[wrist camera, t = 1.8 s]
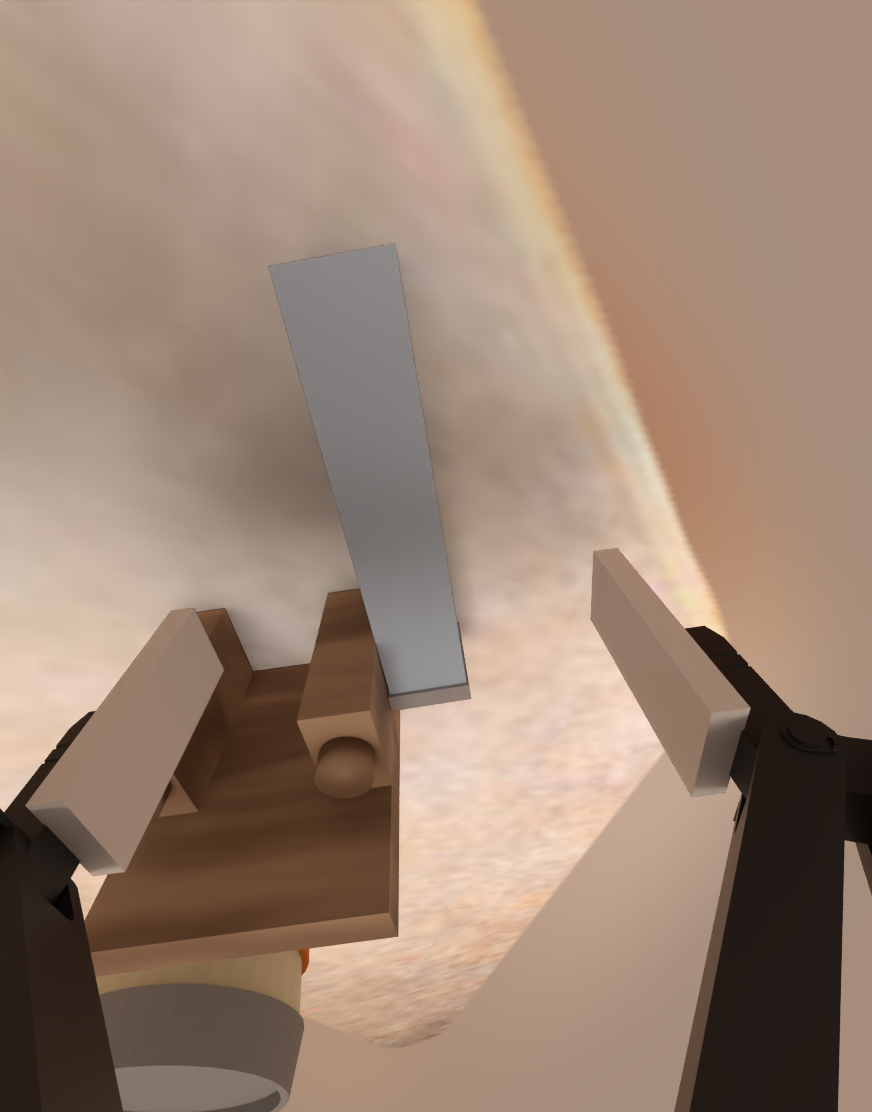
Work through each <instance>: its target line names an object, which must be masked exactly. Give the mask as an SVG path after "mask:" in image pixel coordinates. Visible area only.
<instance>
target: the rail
mask: <svg viewBox="0 0 872 1112" xmlns="http://www.w3.org/2000/svg"><path fill="white" fill-rule="evenodd" d="M268 268H269V272H270V275H271V279H272V282H273V286H274V289H275V293H276V296H277V300H278V303H279V307H280V310H281V314H282V317H283V321H284V324H285V328H286V331H287V335H288V338H289V342H290V345H291V349H292V352H293V356H294V359H295V363H296V366H297V370H298V373H299V377H300V380H301V384H302V387H303V391H304V394H305V398H306V401H307V405H308V408H309V412H310V415H311V419H312V422H313V426H314V429H315V433H316V436H317V440H318V443H319V447H320V450H321V454H322V457H323V461H324V464H325V468H326V471H327V475H328V478H329V482H330V485H331V489H332V492H333V496H334V499H335V503H336V506H337V510H338V513H339V517H340V520H341V524H342V527H343V531H344V534H345V538H346V541H347V545H348V548H349V552H350V555H351V559H352V562H353V566H354V569H355V573H356V576H357V580H358V583H359V587H360V590H361V594H362V597H363V601H364V604H365V608H366V611H367V615H368V618H369V622H370V625H371V629H372V632H373V636H374V639H375V643H376V646H377V650H378V653H379V657H380V660H381V664H382V667H383V671H384V674H385V678H386V682H387V685H388V699H389V702H390V706H391V709H392V711H395V710H402V709H408V708H415V707H421V706H428V705H434V704H441V703H447V702H454V701H460V700H467V699H471V695H470V688H469V682H468V676H467V670H466V664H465V658H464V652H463V646H462V640H461V634H460V628H459V622H457V619H456V613H455V607H454V601H453V595H452V589H451V583H450V577H449V570H448V564H447V558H446V552H445V546H444V540H443V534H442V527H441V521H440V515H439V509H438V503H437V497H436V491H435V484H434V478H433V472H432V466H431V460H430V454H429V448H428V442H427V435H426V429H425V423H424V417H423V411H422V405H421V399H420V392H419V386H418V380H417V374H416V368H415V362H414V356H413V349H412V343H411V337H410V331H409V325H408V319H407V313H406V307H405V300H404V294H403V288H402V282H401V276H400V270H399V264H398V257H397V252H396V246H395V244H389V245H383V246H378V247H372V248H366V249H361V250H355V251H350V252H344V253H338V254H333V255H327V256H322V257H316V258H310V259H305V260H299V261H294V262H288V263H282V264H277V265H271V266H268Z"/></svg>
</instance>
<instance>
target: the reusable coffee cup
mask: <svg viewBox="0 0 872 1112" xmlns="http://www.w3.org/2000/svg"><path fill="white" fill-rule="evenodd" d="M308 963H309V948H308V949H301V950H293V951H286V952H278V953H271V954H263V955H256V956H249V957H241V958H234V959H226V960H219V961H211V962H204V963H196V964H189V965H181V966H174V967H166V968H159V969H151V970H144V971H136V972H129V973H121V974H114V975H106V976H99V977H96V981H97V986H98V991H99V995H100V1000H101V1005H102V1010H103V1015H104V1020H105V1025H106V1030H107V1034H108V1039H109V1044H110V1049H111V1054H112V1059H113V1064H114V1069H115V1073H116V1078H117V1083H118V1088H119V1093H120V1098H121V1103H122V1108H123V1112H278V1111H280V1110H281V1109H282V1108H283V1107H284V1106H286V1104H287V1102H288V1100H289V1096H290V1092H291V1087H292V1082H293V1078H294V1073H295V1068H296V1064H297V1059H298V1054H299V1049H300V1045H301V1040H302V1035H303V1031H304V1022H303V1018H302V1017H301V1016H300V995H301V976H302V975H303V973H304V972H305V971H306V969H307V966H308Z"/></svg>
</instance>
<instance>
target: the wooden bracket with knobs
mask: <svg viewBox="0 0 872 1112" xmlns="http://www.w3.org/2000/svg"><path fill="white" fill-rule="evenodd" d="M196 613H197V615H198V617H199V619H200V621H201V624H202V626H203V628H204V630H205V632H206V634H207V636H208V638H209V640H210V642H211V644H212V646H213V648H214V650H215V653H216V655H217V657H218V659H219V661H220V663H221V665H222V667H223V669H224V671H223V673H222V675H221V677H220V679H219V681H218V683H217V685H216V687H215V689H214V691H213V693H212V695H211V698H210V700H209V702H208V704H207V706H206V708H205V710H204V712H203V714H202V716H201V718H200V720H199V722H198V724H197V726H196V728H195V730H194V732H193V734H192V736H191V738H190V740H189V742H188V744H187V747H186V749H185V751H184V753H183V755H182V757H181V759H180V761H179V763H178V765H177V767H176V769H175V771H174V773H173V775H172V777H171V779H170V781H169V783H168V785H167V787H166V789H165V791H164V794H163V796H162V798H161V800H160V802H159V804H158V806H157V808H156V810H155V812H154V814H153V816H152V818H151V820H150V822H149V824H148V826H147V828H146V830H145V832H144V834H143V836H142V838H141V840H140V843H139V845H138V847H137V849H136V851H135V853H134V855H133V857H132V859H131V861H130V863H129V865H128V867H127V869H126V871H125V872H121V873H114V874H108V875H107V877H106V879H105V881H104V883H103V885H102V887H101V889H100V891H99V893H98V895H97V897H96V899H95V901H94V903H93V905H92V907H91V909H90V911H89V913H88V915H87V917H86V919H85V921H84V922H85V927H86V932H87V937H88V942H89V947H90V952H91V957H92V961H93V966H94V971H95V976H96V977H99V976H106V975H114V974H121V973H129V972H136V971H144V970H151V969H159V968H166V967H174V966H181V965H189V964H196V963H204V962H211V961H219V960H226V959H234V958H241V957H249V956H256V955H263V954H271V953H278V952H286V951H293V950H301V949H308V948H316V947H323V946H331V945H338V944H346V943H353V942H361V941H368V940H376V939H383V938H391V937H398V901H399V776H400V710H395V711H392V709H391V706H390V702H389V699H388V685H387V682H386V678H385V674H384V671H383V667H382V664H381V660H380V657H379V653H378V650H377V646H376V643H375V639H374V636H373V632H372V629H371V625H370V622H369V618H368V615H367V611H366V608H365V604H364V601H363V597H362V594H361V590H360V589H356V590H349V591H342V592H336V593H329V594H328V595H327V599H326V603H325V607H324V611H323V615H322V619H321V623H320V627H319V631H318V636H317V640H316V644H315V648H314V652H313V656H312V660H311V664H304V665H297V666H290V667H283V668H276V669H269V670H262V671H255V672H253V670H252V667H251V665H250V663H249V661H248V659H247V656H246V654H245V652H244V650H243V648H242V645H241V643H240V641H239V639H238V637H237V634H236V632H235V630H234V628H233V625H232V623H231V621H230V619H229V617H228V614H227V612H226V610H225V608H224V609H217V610H210V611H203V612H196Z"/></svg>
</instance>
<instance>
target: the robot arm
mask: <svg viewBox="0 0 872 1112" xmlns="http://www.w3.org/2000/svg"><path fill="white" fill-rule="evenodd" d="M591 621H592V622H593V624H594V626H595V628H596V629H597V631H598V633H599V635H600V636H601V638H602V640H603V642H604V644H605V645H606V647H607V649H608V651H609V652H610V654H611V656H612V658H613V659H614V661H615V663H616V665H617V666H618V668H619V670H620V672H621V673H622V675H623V677H624V679H625V681H626V682H627V684H628V686H629V688H630V689H631V691H632V693H633V695H634V696H635V698H636V700H637V702H638V703H639V705H640V707H641V709H642V710H643V712H644V714H645V716H646V718H647V719H648V721H649V723H650V725H651V726H652V728H653V730H654V732H655V733H656V735H657V737H658V739H659V740H660V742H661V744H662V746H663V747H664V749H665V751H666V753H667V755H668V756H669V758H670V760H671V762H672V763H673V765H674V767H675V769H676V770H677V772H678V774H679V776H680V777H681V779H682V781H683V783H684V784H685V786H686V788H687V790H688V791H689V793H690V795H691V797H699V796H706V795H714V794H722V793H726V790H727V787H728V783H729V780H730V776H731V777H732V779H733V781H734V782H735V783H736V785H737V786H738V788H739V789H740V791H741V792H742V795H741V798H740V801H739V804H738V807H737V810H736V813H735V817H734V821H735V825H734V830H733V835H732V839H731V844H730V849H729V853H728V858H727V863H726V868H725V872H724V877H723V882H722V887H721V892H720V896H719V901H718V906H717V911H716V915H715V920H714V925H713V930H712V934H711V940H710V944H709V949H708V953H707V958H706V963H705V968H704V973H703V977H702V982H701V987H700V992H699V996H698V1002H697V1006H696V1011H695V1016H694V1020H693V1025H692V1030H691V1035H690V1039H689V1044H688V1049H687V1054H686V1058H685V1063H684V1068H683V1073H682V1078H681V1082H680V1087H679V1092H678V1097H677V1101H676V1106H675V1111H674V1112H838V1083H839V1080H838V1078H839V1042H840V1002H841V1001H840V1000H841V961H842V922H843V882H844V879H843V878H844V841H845V840H847V841H852V842H855V843H856V846H857V849H858V852H859V856H860V859H861V862H862V865H863V869H864V872H865V875H866V878H867V881H868V884H869V888H870V891H871V894H872V740H866V739H858V738H850V737H845V736H840V735H837V734H836V733H835V731H833V730H832V729H831V728H829V727H828V726H826V725H825V724H823V723H822V722H820V721H818V720H816V719H814V718H811V717H809V716H807V715H802V714H798V713H794V712H793V711H792V710H790V708H789V707H788V706H787V705H786V704H785V703H784V702H783V701H782V700H781V699H780V697H779V696H778V695H777V694H776V693H775V692H774V691H773V690H772V689H771V688H770V687H769V686H768V685H767V683H766V682H765V681H764V680H763V679H762V678H761V677H760V676H759V675H758V674H757V673H756V672H755V671H754V669H753V668H752V667H749V666H748V663H747V662H746V661H745V660H744V659H743V658H742V657H741V655H738V654H737V651H736V650H735V649H734V648H733V647H732V646H731V645H730V644H729V642H728V641H727V640H726V639H725V638H724V637H722V636H721V635H719V634H717V633H716V632H714V631H712V630H711V629H709V628H707V627H705V626H700V627H693V628H686V629H684V627H683V626H682V625H681V624H680V623H679V621H678V620H677V619H676V618H675V617H674V615H673V614H672V613H671V612H670V611H669V609H668V608H667V607H666V606H665V605H664V603H663V602H662V601H661V600H660V599H659V597H658V596H657V595H656V594H655V593H654V591H653V590H652V589H651V588H650V587H649V585H648V584H647V583H646V582H645V581H644V579H643V578H642V577H641V576H640V575H639V573H638V572H637V571H636V570H635V569H634V567H633V566H632V565H631V564H630V563H629V561H628V560H627V559H626V558H625V557H624V555H623V554H622V553H621V552H620V551H619V549H618V548H613V549H606V550H599V551H594V552H593V576H592V599H591ZM223 671H224V669H223V667H222V665H221V663H220V661H219V659H218V657H217V655H216V653H215V650H214V648H213V646H212V644H211V642H210V640H209V638H208V636H207V634H206V632H205V630H204V628H203V626H202V624H201V621H200V619H199V617H198V615H197V613H196V611H195V609H194V608H189V609H181V610H174V611H171V612H170V613H169V614H168V616H167V617H166V618H165V620H164V621H163V622H162V624H161V625H160V626H159V628H158V629H157V630H156V632H155V633H154V634H153V636H152V637H151V638H150V640H149V641H148V642H147V644H146V645H145V646H144V648H143V649H142V650H141V652H140V653H139V654H138V656H137V657H136V658H135V660H134V661H133V662H132V664H131V665H130V666H129V668H128V669H127V670H126V672H125V673H124V674H123V676H122V677H121V678H120V680H119V681H118V682H117V684H116V685H115V686H114V688H113V689H112V690H111V692H110V693H109V694H108V696H107V697H106V698H105V700H104V701H103V702H102V704H101V705H100V706H99V708H98V709H97V710H96V711H92V712H89V713H87V714H86V715H85V716H84V717H83V718H81V719H80V720H79V721H78V722H77V723H76V724H74V725H73V726H72V727H71V728H70V729H69V730H68V731H67V733H66V734H65V735H64V737H63V738H62V739H61V740H60V742H59V743H58V744H57V745H56V749H53V751H52V752H51V753H50V754H49V756H48V757H47V758H46V760H45V764H42V765H41V766H40V767H39V769H38V770H37V771H36V772H35V774H34V775H33V776H32V778H31V779H30V780H29V781H28V783H27V784H26V785H25V787H24V788H23V789H22V790H21V792H20V793H19V794H18V795H17V797H16V798H15V799H14V801H13V802H12V803H11V804H10V806H9V807H8V808H7V810H6V811H5V812H3V811H2V810H1V809H0V1112H123V1108H122V1103H121V1098H120V1093H119V1088H118V1083H117V1078H116V1073H115V1069H114V1064H113V1059H112V1054H111V1049H110V1044H109V1039H108V1034H107V1030H106V1025H105V1020H104V1015H103V1010H102V1005H101V1000H100V995H99V991H98V986H97V981H96V976H95V971H94V966H93V961H92V957H91V952H90V947H89V942H88V937H87V932H86V927H85V922H84V918H83V913H82V908H81V903H80V898H79V893H78V888H77V886H76V885H75V883H74V882H73V881H72V880H71V879H70V878H71V877H72V875H73V873H74V871H75V870H76V868H77V866H78V864H79V863H81V864H82V866H83V867H84V868H85V869H86V870H87V871H88V872H89V873H90V874H91V875H92V876H98V875H106V874H114V873H121V872H125V871H126V869H127V867H128V865H129V863H130V861H131V859H132V857H133V855H134V853H135V851H136V849H137V847H138V845H139V843H140V840H141V838H142V836H143V834H144V832H145V830H146V828H147V826H148V824H149V822H150V820H151V818H152V816H153V814H154V812H155V810H156V808H157V806H158V804H159V802H160V800H161V798H162V796H163V794H164V791H165V789H166V787H167V785H168V783H169V781H170V779H171V777H172V775H173V773H174V771H175V769H176V767H177V765H178V763H179V761H180V759H181V757H182V755H183V753H184V751H185V749H186V747H187V744H188V742H189V740H190V738H191V736H192V734H193V732H194V730H195V728H196V726H197V724H198V722H199V720H200V718H201V716H202V714H203V712H204V710H205V708H206V706H207V704H208V702H209V700H210V698H211V695H212V693H213V691H214V689H215V687H216V685H217V683H218V681H219V679H220V677H221V675H222V673H223Z"/></svg>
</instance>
